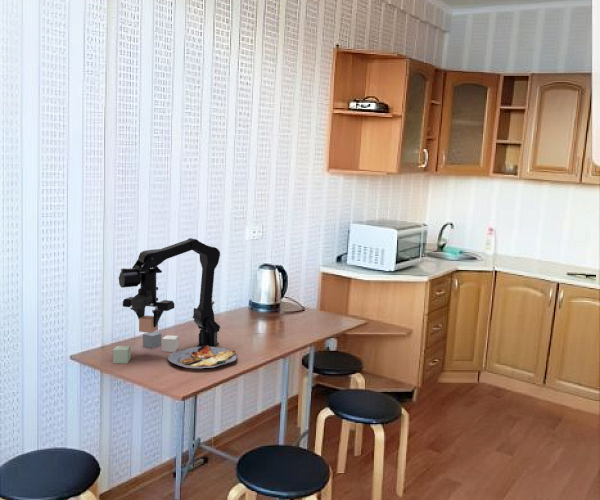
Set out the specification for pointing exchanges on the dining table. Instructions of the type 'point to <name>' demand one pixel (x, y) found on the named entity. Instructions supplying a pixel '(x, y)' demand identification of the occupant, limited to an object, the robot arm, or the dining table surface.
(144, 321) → the terracotta block
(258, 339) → the dining table surface
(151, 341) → the slate-grey block
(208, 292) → the robot arm
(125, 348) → the sage-green block
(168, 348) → the off-white block
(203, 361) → the food plate
